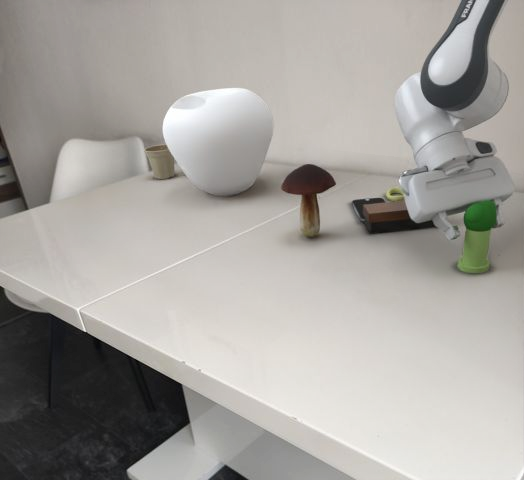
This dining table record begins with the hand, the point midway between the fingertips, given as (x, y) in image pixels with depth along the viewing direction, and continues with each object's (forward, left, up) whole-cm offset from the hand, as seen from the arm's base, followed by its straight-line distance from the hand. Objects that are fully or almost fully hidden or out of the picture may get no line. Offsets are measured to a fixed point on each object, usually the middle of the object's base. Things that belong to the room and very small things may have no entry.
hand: (477, 232), depth 92 cm
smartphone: (+10, -34, -6) cm, 36 cm away
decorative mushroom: (+26, -22, -7) cm, 35 cm away
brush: (+6, -23, -6) cm, 25 cm away
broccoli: (0, 0, -6) cm, 7 cm away
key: (-1, -42, -7) cm, 43 cm away
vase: (+44, -62, -7) cm, 77 cm away
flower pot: (+63, -84, -7) cm, 105 cm away
